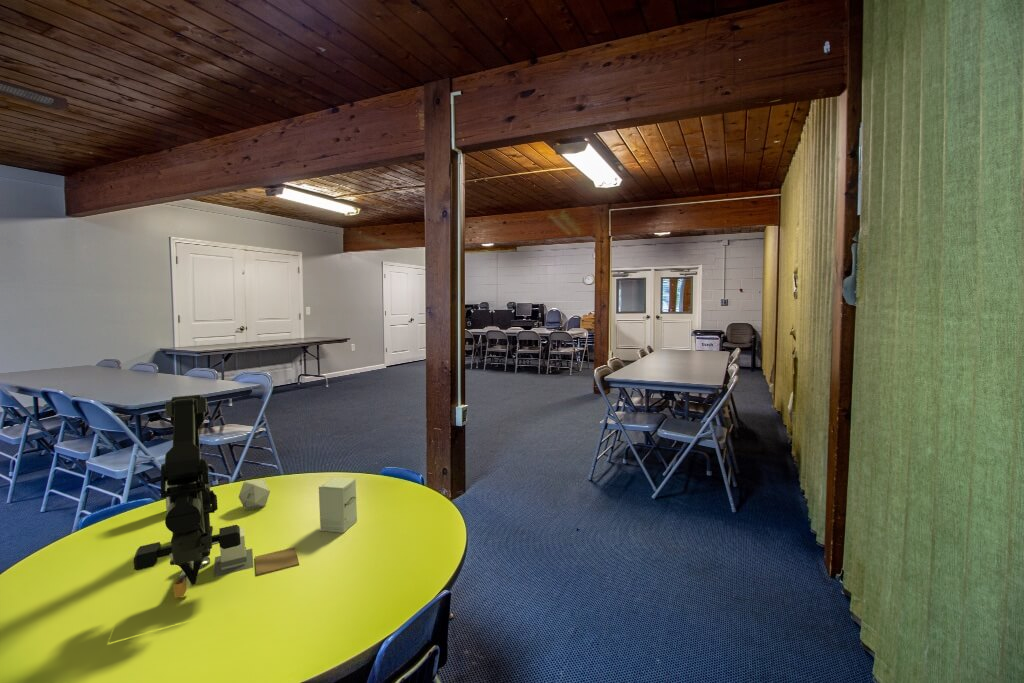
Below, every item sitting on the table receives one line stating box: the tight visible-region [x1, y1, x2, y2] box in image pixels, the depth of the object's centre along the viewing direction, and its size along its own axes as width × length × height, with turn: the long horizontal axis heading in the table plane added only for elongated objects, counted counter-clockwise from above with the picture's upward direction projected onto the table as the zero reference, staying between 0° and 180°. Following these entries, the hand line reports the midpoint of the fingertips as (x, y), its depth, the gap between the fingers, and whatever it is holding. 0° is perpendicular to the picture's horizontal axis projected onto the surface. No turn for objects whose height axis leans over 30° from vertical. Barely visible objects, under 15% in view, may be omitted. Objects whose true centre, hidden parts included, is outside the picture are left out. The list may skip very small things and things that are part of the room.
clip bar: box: [173, 559, 204, 599], centre depth 109 cm, size 16×3×4 cm, turn 21°
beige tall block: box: [219, 526, 247, 570], centre depth 116 cm, size 5×5×8 cm
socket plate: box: [213, 548, 254, 578], centre depth 116 cm, size 10×8×1 cm
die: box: [238, 478, 271, 511], centre depth 148 cm, size 8×9×10 cm
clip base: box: [199, 556, 211, 570], centre depth 115 cm, size 5×5×1 cm
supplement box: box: [318, 477, 358, 534], centre depth 135 cm, size 7×7×13 cm
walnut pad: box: [254, 546, 300, 577], centre depth 117 cm, size 9×9×1 cm
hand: (193, 583), depth 104 cm, fingers closed
